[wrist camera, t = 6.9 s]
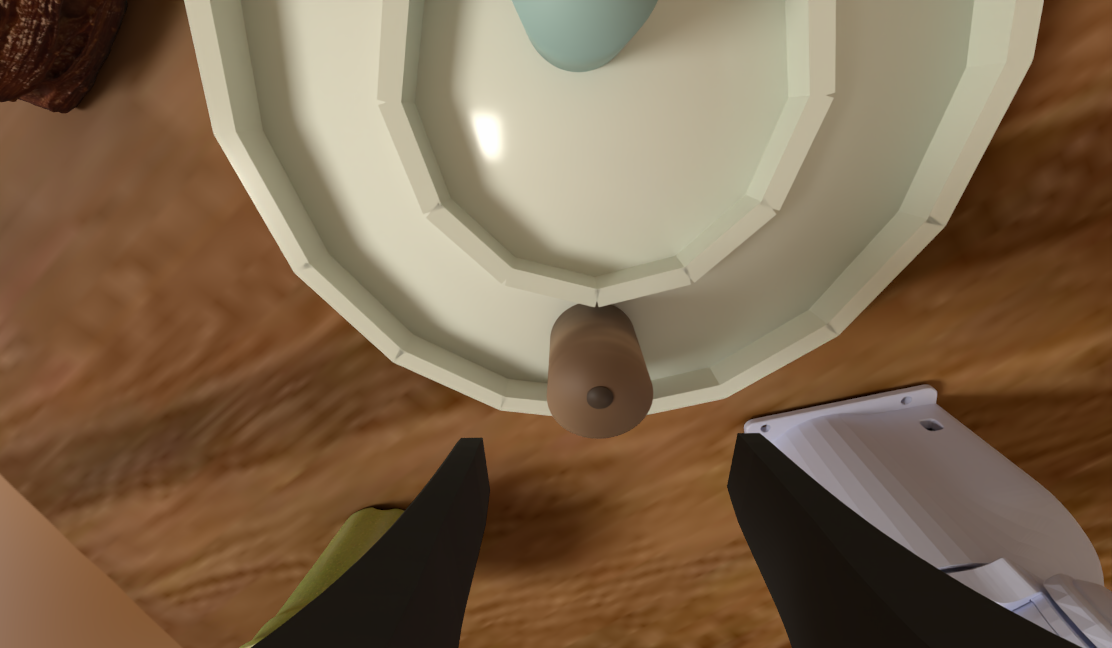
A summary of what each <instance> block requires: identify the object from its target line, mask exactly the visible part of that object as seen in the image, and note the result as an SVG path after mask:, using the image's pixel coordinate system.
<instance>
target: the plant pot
mask: <svg viewBox="0 0 1112 648" xmlns="http://www.w3.org/2000/svg"><path fill="white" fill-rule="evenodd" d="M403 512H404V510H400V509H391V510H377V509H375V508H373V507H370V508H366V509H363V510H360V511H358V512H356V513H354V514H353V515H351V516H350V517H349V518H348V519H347V521H346V522H345V523H344V525H343V526H342V527H341V529H340V530H339V531H338V533H337V534H336V535H335V537H334V538H333V539H332V541H331V542H330V544H329V545H328V546H327V548H326V549H325V551H324V552H323V553H322V555H321V556H320V557H319V559H318V560H317V562H316V563H315V564H314V566H313V567H312V568H311V570H310V571H309V572H308V574H307V575H306V576H305V578H304V579H303V580H302V582H301V583H300V584H299V586H298V587H297V588H296V590H295V591H294V592H293V594H292V595H291V596H290V598H289V599H288V600H287V602H286V603H285V604H284V606H283V607H282V608H281V609H280V611H279V612H278V613H277V615H276V616H275V617H274V618H272V619H271V620H269V621H268V622H267V623H266V624H265V625H264V626H263V627H262V628H261V629H260V631H259V632H258V633H257V634H256V636H255V637H254V638H253V639H252V641H250V642H248V643H246V644H244V645H242V646H241V647H240V648H251V647H252V646H253V645H255V644H256V643H258V642H259V641H261V640H262V639H263V638H265V637H266V636H268V635H269V634H270V633H272V632H273V631H274V630H276V629H277V628H278V627H280V626H281V625H282V624H284V623H285V622H286V621H287V620H289V619H290V618H291V617H292V616H294V615H295V614H296V613H297V612H299V611H300V610H301V609H302V608H304V607H305V606H306V605H307V604H309V603H310V602H311V601H312V600H314V599H315V598H316V597H317V596H319V595H320V594H321V593H322V592H323V591H324V590H326V589H327V588H328V587H329V586H330V585H331V584H333V583H334V582H335V581H336V580H337V579H338V578H339V577H340V576H341V575H343V574H344V573H345V572H346V571H347V570H348V569H349V568H350V567H351V566H352V565H353V564H354V563H356V562H357V561H358V560H359V559H360V558H361V557H362V556H363V555H364V554H365V553H366V552H367V551H368V550H369V549H370V548H371V547H372V546H373V545H374V544H375V543H376V542H377V541H378V540H379V539H380V538H381V537H382V536H383V535H384V534H385V533H386V531H387V530H388V529H389V528H390V527H391V526H392V525H393V524H394V523H395V522H396V520H397V519H398V518H399V517H400V516H401V515H402V514H403Z"/></svg>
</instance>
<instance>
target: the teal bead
mask: <svg viewBox="0 0 1112 648" xmlns="http://www.w3.org/2000/svg"><path fill="white" fill-rule="evenodd" d="M657 1H658V0H512V2H513V4H514V7H515V9H516V11H517V13H518V15H519V18H520V20H521V22H522V24H523V26H524V29H525V31H526V33H527V35H528V37H529V40H530V41H531V43H532V45H533V46H534V48H535V49H536V50H537V52H538V53H539V54H540V55H541V56H542V57H543V58H544V59H545V60H546V61H548V62H549V63H550V64H552V65H554V66H555V67H557V68H560V69H562V70H565V71H570V72H587V71H591V70H594V69H597V68H599V67H601V66H603V65H605V64H607V63H608V62H609V61H611V60H612V59H613V58H614V57H615V56H616V55H617V54H618V53H619V52H620V51H621V50H622V49H623V48H624V47H625V45H626V44H627V43H628V42H629V41H630V40H631V38H632V37H633V36H634V35H635V34H636V33H637V32H638V30H639V29H640V28H641V27H642V26H643V24H644V23H645V22H646V20H647V19H648V18H649V16H650V14H651V13H652V11H653V9H654V8H655V6H656V3H657Z"/></svg>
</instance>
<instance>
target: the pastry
mask: <svg viewBox="0 0 1112 648" xmlns="http://www.w3.org/2000/svg"><path fill="white" fill-rule="evenodd" d="M126 9H127V0H0V102H5V101H11V102H15V101H16V100H17V99H20V100H23V101H26V102H29V103H31V104H33V105H36V106H39V107H42V108H44V109H48V110H50V111H52V112H60V113H68V112H69V111H71V110H72V109H74V108H75V107H76V106H77V105H78V104H79V103H80V101H81V100H82V98H83V96H84V95H85V94H86V93H87V92H88V91H89V90H90V89H91V87H92V86H93V85H94V83H95V79H96V77H97V74H98V71H99V69H100V68H101V66H102V64H103V62H104V61H105V60H106V58H107V57H108V55H109V53H110V51H111V46H112V44H113V41H114V39H115V37H116V35H117V33H118V30H119V28H120V25H121V23H122V19H123V16H124V14H125V12H126Z"/></svg>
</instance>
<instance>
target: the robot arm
mask: <svg viewBox="0 0 1112 648" xmlns="http://www.w3.org/2000/svg"><path fill="white" fill-rule="evenodd" d="M904 397H905V398H904ZM903 398H904V399H903ZM936 400H937V391H936V389H934V388H933V387H932V386H930V385H919V386H914V387H909V388H904V389H899V390H894V391H889V392H884V393H879V394H874V395H869V396H864V397H859V398H854V399H850V400H845V401H840V402H835V403H830V404H825V405H820V406H815V407H810V408H805V409H800V410H795V411H790V412H785V413H780V414H775V415H770V416H765V417H760V418H755V419H751V420H749V421H747V422H746V423H745V425H744V433H738V434H737V439H736V444H735V449H734V454H733V459H732V465H731V470H730V475H729V480H728V485H727V488H728V491H729V494H730V498H731V501H732V504H733V508H734V511H735V514H736V517H737V520H738V523H739V525H740V527H741V530H742V532H743V534H744V536H745V539H746V541H747V543H748V545H749V548H750V550H751V552H752V554H753V556H754V559H755V561H756V563H757V565H758V567H759V569H760V572H761V574H762V576H763V578H764V580H765V583H766V585H767V587H768V589H769V591H770V594H771V596H772V598H773V600H774V602H775V605H776V607H777V609H778V612H779V614H780V616H781V619H782V621H783V624H784V626H785V629H786V632H787V635H788V637H789V640H790V643H791V646H792V648H1112V592H1111V591H1110V590H1108V589H1107V588H1105V587H1104V580H1103V573H1102V568H1101V565H1100V561H1099V558H1098V556H1097V553H1096V551H1095V549H1094V547H1093V545H1092V544H1091V542H1090V540H1089V539H1088V537H1087V535H1086V534H1085V533H1084V531H1083V530H1082V528H1081V527H1080V525H1079V524H1078V523H1077V521H1076V520H1075V519H1074V517H1073V516H1072V515H1071V514H1070V513H1069V512H1068V510H1067V509H1066V508H1065V507H1064V506H1063V505H1062V504H1061V503H1060V502H1059V501H1058V500H1057V499H1056V498H1055V497H1054V496H1053V495H1052V494H1051V493H1050V492H1049V491H1048V490H1047V489H1046V488H1044V487H1043V486H1042V485H1041V484H1040V483H1038V482H1037V481H1036V480H1034V479H1033V478H1032V477H1031V476H1029V475H1028V474H1027V473H1025V472H1024V471H1023V470H1022V469H1020V468H1019V467H1018V466H1016V465H1015V464H1014V463H1012V462H1011V461H1010V460H1009V459H1007V458H1006V457H1005V456H1003V455H1002V454H1001V453H1000V452H998V451H997V450H996V449H994V448H993V447H992V446H990V445H989V444H988V443H987V442H985V441H984V440H983V439H981V438H980V437H979V436H978V435H976V434H975V433H974V432H972V431H971V430H970V429H968V428H967V427H966V426H965V425H963V424H962V423H961V422H959V421H958V420H957V419H956V418H954V417H953V416H952V415H950V414H949V413H948V412H946V411H945V410H944V409H943V408H941V407H940V406H939V405H937V404H936ZM763 425H766V426H765V427H762V426H763ZM489 494H490V486H489V479H488V473H487V466H486V459H485V452H484V445H483V438H461V439H460V440H459V441H458V442H457V443H456V445H455V446H454V448H453V449H452V451H451V452H450V454H449V455H448V456H447V458H446V459H445V461H444V462H443V463H442V465H441V466H440V467H439V469H438V470H437V471H436V473H435V474H434V476H433V477H432V478H431V479H430V481H429V482H428V483H427V484H426V486H425V487H424V488H423V490H422V491H421V492H420V493H419V495H418V496H417V497H416V498H415V500H414V501H413V502H412V503H411V504H410V505H409V507H408V508H407V509H406V510H405V511H404V512H403V514H402V515H401V516H400V517H399V518H398V519H397V520H396V522H395V523H394V524H393V525H392V526H391V527H390V528H389V529H388V530H387V531H386V533H385V534H384V535H383V536H382V537H381V538H380V539H379V540H378V541H377V542H376V543H375V544H374V545H373V546H372V547H371V548H370V549H369V550H368V551H367V552H366V553H365V554H364V555H363V556H362V557H361V558H360V559H359V560H358V561H357V562H356V563H354V564H353V565H352V566H351V567H350V568H349V569H348V570H347V571H346V572H345V573H344V574H343V575H341V576H340V577H339V578H338V579H337V580H336V581H335V582H334V583H333V584H331V585H330V586H329V587H328V588H327V589H326V590H324V591H323V592H322V593H321V594H320V595H319V596H317V597H316V598H315V599H314V600H312V601H311V602H310V603H309V604H307V605H306V606H305V607H304V608H302V609H301V610H300V611H299V612H297V613H296V614H295V615H294V616H292V617H291V618H290V619H289V620H287V621H286V622H285V623H284V624H282V625H281V626H280V627H278V628H277V629H276V630H274V631H273V632H272V633H270V634H269V635H268V636H266V637H265V638H263V639H262V640H261V641H259V642H258V643H256V644H255V645H253V646H252V647H251V648H458V646H459V640H460V634H461V627H462V622H463V617H464V613H465V608H466V604H467V600H468V595H469V591H470V587H471V583H472V579H473V575H474V571H475V567H476V563H477V559H478V555H479V550H480V546H481V542H482V538H483V534H484V529H485V525H486V518H487V510H488V502H489Z"/></svg>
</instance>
